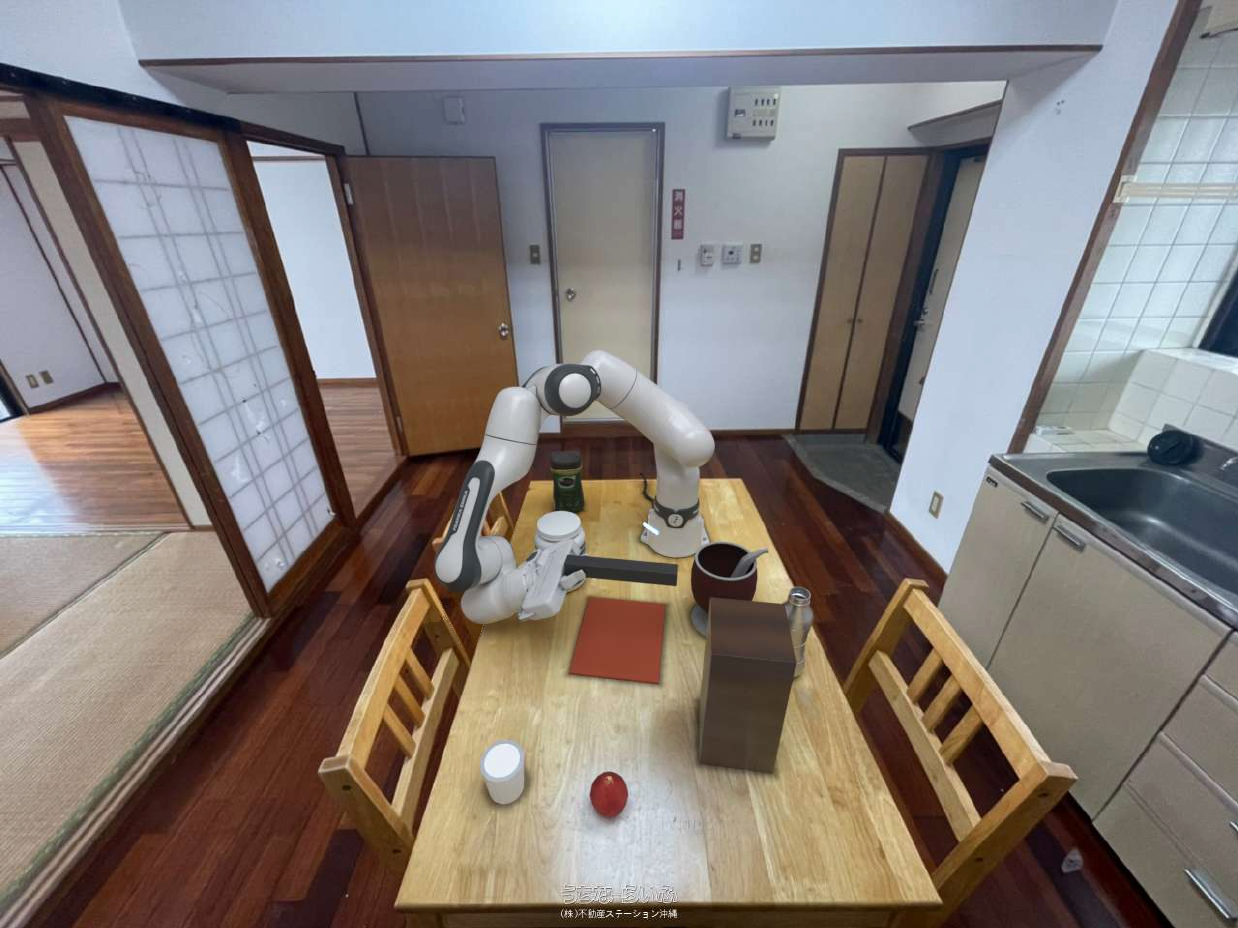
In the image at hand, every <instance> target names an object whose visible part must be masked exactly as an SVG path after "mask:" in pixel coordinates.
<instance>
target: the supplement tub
mask: <svg viewBox="0 0 1238 928" xmlns="http://www.w3.org/2000/svg"><path fill="white" fill-rule="evenodd" d="M533 538H534V539H533V543H534V551H535V550H537V549H541V550H542V551H543V550H544V549H545V548H546V547H548V546H550V545H552V544H555V543H557V542H560V541H563V540H566V539H573V540H574V541H575V542H576V543H577V545H578V546H579V548H580V550H581V551H580V554H579V555H583V554H586V553H587V547H586V545H587V544H586V533H585V530H584V528H583V527H582V523H581V518H580V517H579V516H578V515H577V514H576V513H575V512H567V511H556V510H554V511H550V512H548V513H545V514H544V515H542V516H541V517H540V518H539V519H537V522H536V531H535V533H534V536H533ZM586 580H587V578H585V579H582V580H580V581H578V582H577V583H576V584H575V585H573V586H572V587H571V588H569V589H568V590H567V593H570V592H573V591H575V590H578V589H579V588H581V586H583V584H584V583H585V582H586Z"/></svg>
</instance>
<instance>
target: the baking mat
mask: <svg viewBox="0 0 1238 928" xmlns="http://www.w3.org/2000/svg"><path fill="white" fill-rule="evenodd" d="M665 615H666V603H657V602H649V601H637V600H625V599H615V598H607V597H606V598H605V597H594V596H589V598H588V601H587V605H586V609H585V612H584V616H583V619H582V622H581V627H580V631H579V635H578V638H577V641H576V645H575V647H574V648H575V649H574V652H573V656H572V660H571V663H570V666H569V669H568V675H574V676H582V677H592V678H601V679H611V680H616V681H617V680H618V681H627V682H628V681H629V682H637V683H645V684H652V685H653V684H654V685H659V684H660V674H661V661H662V650H663V639H664V627H665Z"/></svg>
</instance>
